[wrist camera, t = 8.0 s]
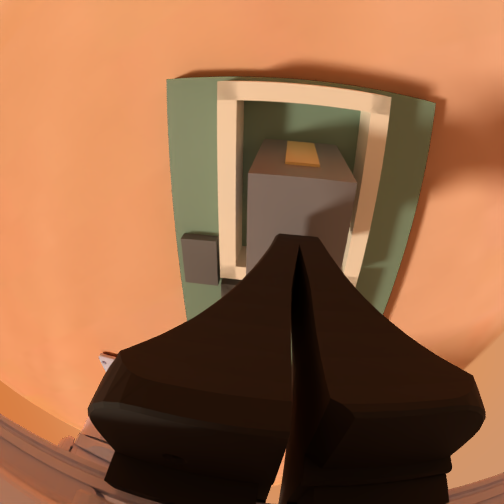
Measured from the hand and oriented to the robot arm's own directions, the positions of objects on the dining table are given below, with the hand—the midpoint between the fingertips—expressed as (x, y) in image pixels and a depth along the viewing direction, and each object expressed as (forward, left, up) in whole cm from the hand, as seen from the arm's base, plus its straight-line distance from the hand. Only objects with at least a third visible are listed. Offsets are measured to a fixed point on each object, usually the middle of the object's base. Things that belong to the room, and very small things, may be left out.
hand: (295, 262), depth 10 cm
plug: (+1, 0, -6) cm, 6 cm away
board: (-4, 0, -7) cm, 9 cm away
